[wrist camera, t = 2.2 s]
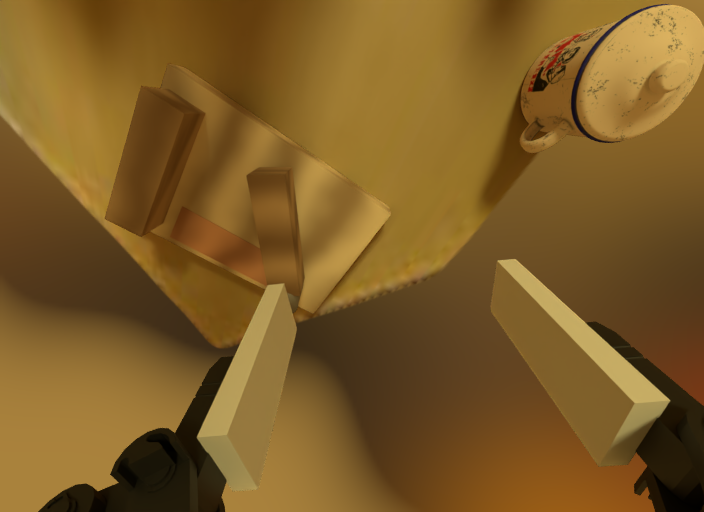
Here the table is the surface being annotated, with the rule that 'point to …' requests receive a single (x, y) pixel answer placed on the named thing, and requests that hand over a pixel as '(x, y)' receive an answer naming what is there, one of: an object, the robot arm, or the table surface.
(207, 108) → the wooden board with block
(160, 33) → the table surface
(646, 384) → the robot arm
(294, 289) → the hinged leg
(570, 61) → the teacup with lid
